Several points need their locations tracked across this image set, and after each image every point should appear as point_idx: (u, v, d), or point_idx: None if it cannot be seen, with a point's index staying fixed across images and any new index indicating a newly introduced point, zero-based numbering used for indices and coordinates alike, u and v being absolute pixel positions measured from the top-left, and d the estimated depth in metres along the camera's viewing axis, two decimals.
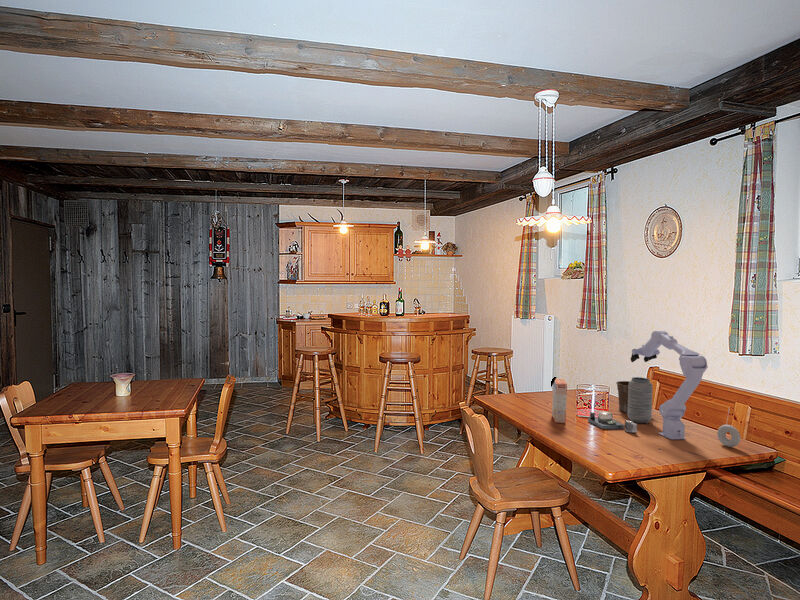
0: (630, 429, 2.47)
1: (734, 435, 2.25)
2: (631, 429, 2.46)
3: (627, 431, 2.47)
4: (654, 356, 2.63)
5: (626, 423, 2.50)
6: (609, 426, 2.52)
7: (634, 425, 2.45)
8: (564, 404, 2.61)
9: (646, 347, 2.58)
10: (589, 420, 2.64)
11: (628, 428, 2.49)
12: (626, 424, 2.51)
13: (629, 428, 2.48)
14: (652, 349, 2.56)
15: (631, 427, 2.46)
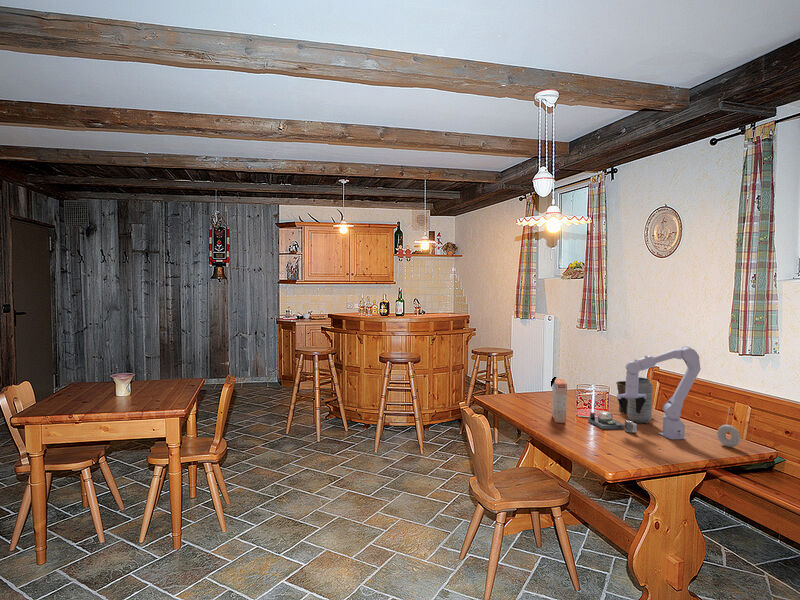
0: (630, 429, 2.47)
1: (734, 435, 2.25)
2: (631, 429, 2.46)
3: (627, 431, 2.47)
4: (642, 399, 2.47)
5: (626, 423, 2.50)
6: (609, 426, 2.52)
7: (634, 425, 2.45)
8: (564, 404, 2.61)
9: (627, 385, 2.47)
10: (589, 420, 2.64)
11: (628, 428, 2.49)
12: (626, 424, 2.51)
13: (629, 428, 2.48)
14: (638, 383, 2.46)
15: (631, 427, 2.46)
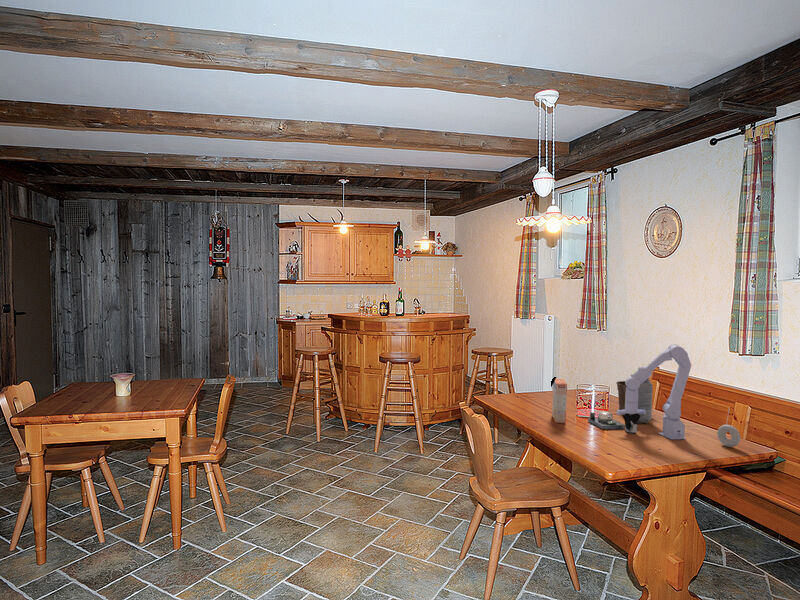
0: (630, 429, 2.47)
1: (734, 435, 2.25)
2: (631, 429, 2.46)
3: (627, 431, 2.47)
4: (637, 415, 2.47)
5: None
6: (609, 426, 2.52)
7: (634, 425, 2.45)
8: (564, 404, 2.61)
9: (627, 401, 2.47)
10: (589, 420, 2.64)
11: None
12: None
13: None
14: (637, 399, 2.46)
15: (631, 427, 2.46)
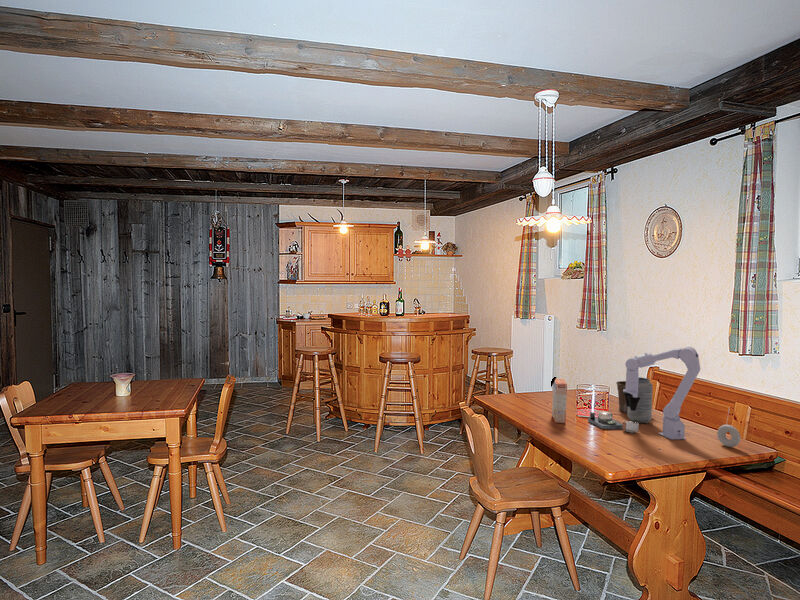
0: (633, 429, 2.47)
1: (734, 435, 2.25)
2: (635, 429, 2.47)
3: (632, 432, 2.46)
4: None
5: (626, 424, 2.49)
6: (609, 426, 2.52)
7: (638, 424, 2.46)
8: (564, 404, 2.61)
9: (634, 382, 2.50)
10: (589, 420, 2.64)
11: (629, 428, 2.48)
12: (625, 425, 2.49)
13: (631, 428, 2.47)
14: (637, 380, 2.51)
15: (635, 427, 2.47)
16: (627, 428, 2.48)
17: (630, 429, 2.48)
